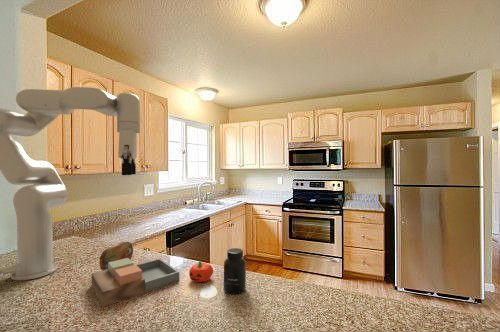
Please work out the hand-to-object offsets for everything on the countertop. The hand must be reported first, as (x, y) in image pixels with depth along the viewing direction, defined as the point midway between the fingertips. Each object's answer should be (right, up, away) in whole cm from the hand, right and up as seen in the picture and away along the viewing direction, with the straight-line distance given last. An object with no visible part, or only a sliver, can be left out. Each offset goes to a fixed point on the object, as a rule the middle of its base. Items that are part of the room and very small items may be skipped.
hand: (129, 174), depth 89 cm
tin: (-6, -35, +3) cm, 36 cm away
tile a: (+7, -31, -15) cm, 35 cm away
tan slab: (+3, -35, -14) cm, 38 cm away
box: (+11, -35, -6) cm, 37 cm away
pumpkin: (+28, -35, -8) cm, 46 cm away
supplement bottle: (+40, -35, -14) cm, 55 cm away
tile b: (+2, -31, -10) cm, 33 cm away
